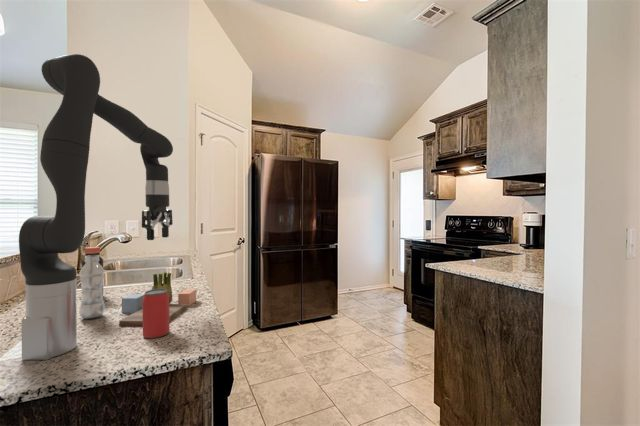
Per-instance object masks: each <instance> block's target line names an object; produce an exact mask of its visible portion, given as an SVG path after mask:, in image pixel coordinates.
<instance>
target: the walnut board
mask: <svg viewBox="0 0 640 426" xmlns="http://www.w3.org/2000/svg"><path fill="white" fill-rule="evenodd" d="M187 309H188V306H187V304H178V303H170V304H169V322H170V321H172V319H174V318H176V317H178V316H179V315H180V314H181V313H183V312H184V311H185V310H187ZM118 326H120V327H139V326H140V327H143V308H142V309H140V310H138V311H137V312H135V313H130V314H129V315H127V316H126V317H124V318H122V319H120V320H119V321H118Z"/></svg>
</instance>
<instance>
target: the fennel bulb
mask: <svg viewBox="0 0 640 426" xmlns="http://www.w3.org/2000/svg"><path fill="white" fill-rule="evenodd" d="M152 278H153V285H152V286H153V290H154V289H166V290H167V293H168V295H169V304H172V303H171V302H172V301H173V289H172V285H171V283H172V282H171V279H172V273H171V272H166V271H164V272H160V273H153V277H152Z"/></svg>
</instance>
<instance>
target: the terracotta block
mask: <svg viewBox="0 0 640 426" xmlns="http://www.w3.org/2000/svg"><path fill="white" fill-rule="evenodd" d="M177 297H178V298H177V302H178V303H177V304H187V307H190V306H191V305H193V304H194V303H195V302H196V301H197V288H195V289H188V288H187V289H184V290H182V291H181V292H179V293H178V294H177Z"/></svg>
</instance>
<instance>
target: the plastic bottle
mask: <svg viewBox="0 0 640 426" xmlns="http://www.w3.org/2000/svg"><path fill="white" fill-rule="evenodd" d="M99 256H100V254H99V255H88V256H86V255H84V258H85V262H86V264H85V265H84V266H83V267H82V266H81V269H80V271H79V280H80V284H81V285H80V287H81V300H80V302H81V303H80V307H79V315H80V317H81V318H82V319H85V320H87V319H96V318H99V317H101V316H103V315H104V313H105V310H106V305H105V301H104V292H103V293H102V289H103V290H104V278H105V277H104V276H105V270H104V266H103V267H102V266H101V265H100V264H99V263H98V261H99ZM102 287H103V288H102Z"/></svg>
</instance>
